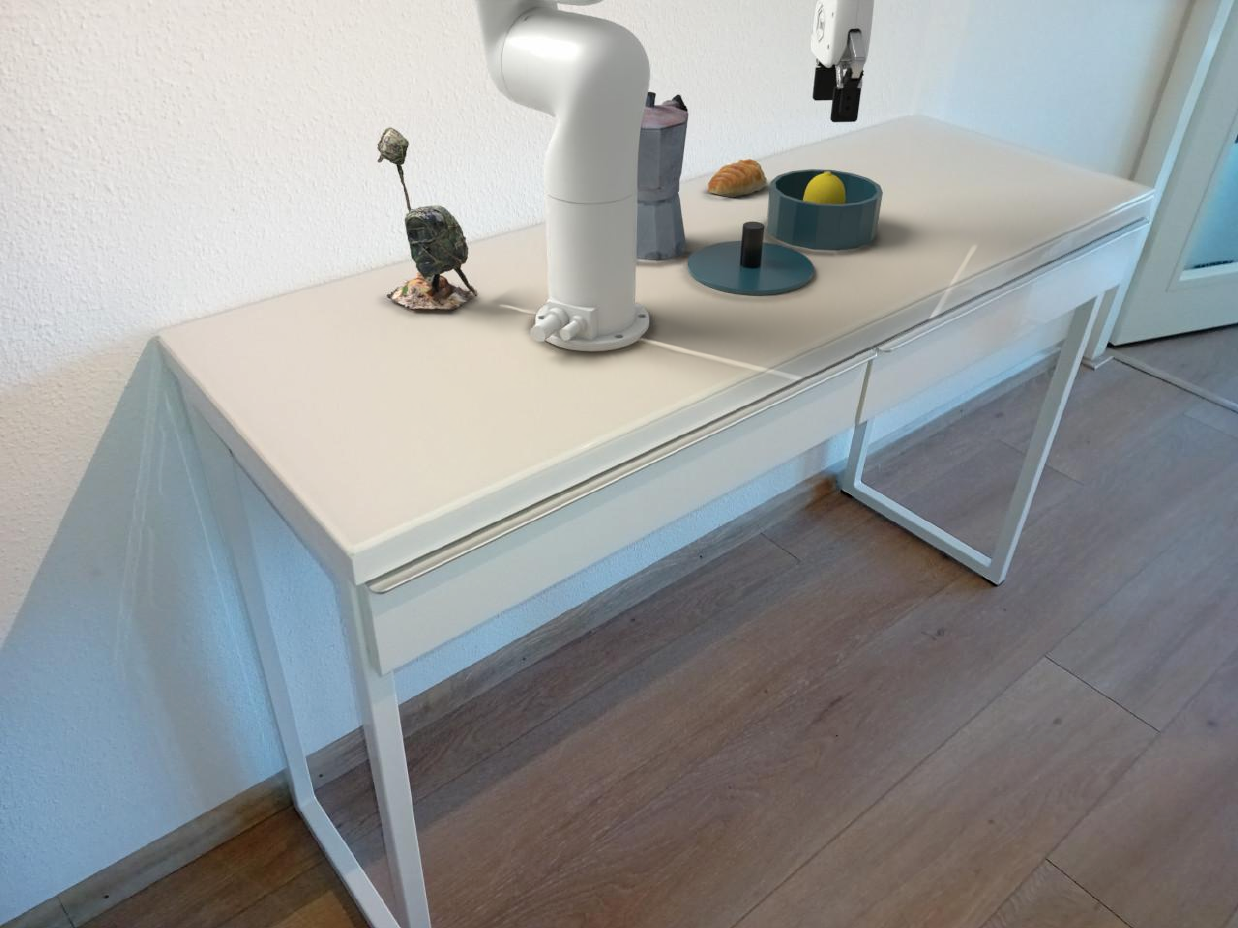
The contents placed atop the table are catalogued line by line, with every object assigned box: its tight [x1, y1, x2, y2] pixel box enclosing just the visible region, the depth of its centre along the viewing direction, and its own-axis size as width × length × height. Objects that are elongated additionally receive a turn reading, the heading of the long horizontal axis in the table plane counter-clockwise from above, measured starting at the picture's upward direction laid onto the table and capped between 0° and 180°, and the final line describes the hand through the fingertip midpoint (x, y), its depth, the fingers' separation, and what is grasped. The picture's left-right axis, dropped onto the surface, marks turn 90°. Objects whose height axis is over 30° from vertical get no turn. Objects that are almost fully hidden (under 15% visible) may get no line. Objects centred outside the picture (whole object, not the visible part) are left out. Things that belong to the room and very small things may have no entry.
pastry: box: [707, 158, 768, 199], centre depth 145 cm, size 9×7×4 cm
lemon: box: [803, 171, 846, 204], centre depth 129 cm, size 6×6×8 cm
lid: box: [686, 221, 815, 296], centre depth 119 cm, size 15×15×6 cm
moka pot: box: [636, 91, 689, 262], centre depth 121 cm, size 10×15×20 cm, turn 152°
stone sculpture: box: [376, 126, 479, 311], centre depth 108 cm, size 8×11×20 cm
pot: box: [765, 168, 884, 251], centre depth 130 cm, size 14×14×6 cm
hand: (833, 110), depth 123 cm, fingers open, 9 cm apart
